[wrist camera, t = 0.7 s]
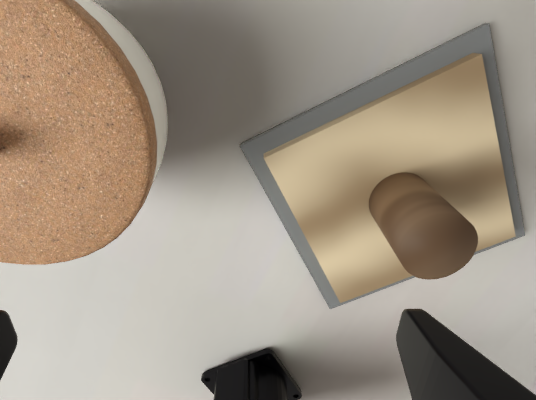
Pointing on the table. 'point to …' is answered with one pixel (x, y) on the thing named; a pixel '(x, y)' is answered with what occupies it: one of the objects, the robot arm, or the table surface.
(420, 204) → the lid
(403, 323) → the robot arm
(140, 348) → the table surface
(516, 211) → the mat
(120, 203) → the lidded jar
